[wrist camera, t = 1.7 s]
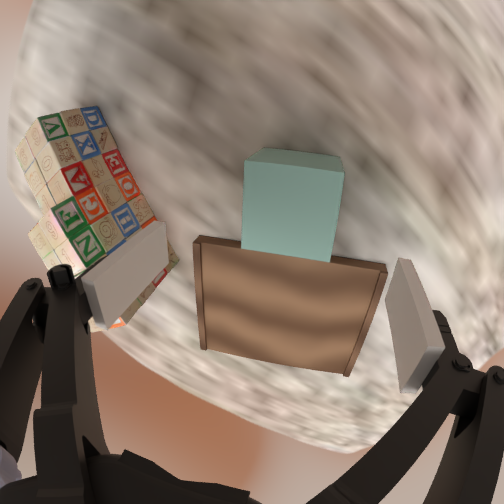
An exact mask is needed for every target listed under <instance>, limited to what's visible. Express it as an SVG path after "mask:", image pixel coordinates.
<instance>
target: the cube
mask: <svg viewBox="0 0 504 504" xmlns="http://www.w3.org/2000/svg"><path fill="white" fill-rule="evenodd" d="M344 175H345V172H344V168H343V165H342V162H341V158H340V157H337V156H331V155H324V154H317V153H309V152H301V151H293V150H284V149H274V148H262V149H261V150H259V151H258V152H256V153H255V154H253V155H252V156H251V157H249V158H248V159H246V160H245V161H244V185H243V211H242V238H241V249H247V250H254V251H260V252H266V253H273V254H279V255H286V256H292V257H298V258H305V259H311V260H318V261H324V262H330V258H331V253H332V248H333V243H334V237H335V232H336V226H337V220H338V214H339V208H340V202H341V196H342V189H343V182H344Z"/></svg>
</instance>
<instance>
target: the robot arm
mask: <svg viewBox="0 0 504 504" xmlns="http://www.w3.org/2000/svg"><path fill="white" fill-rule="evenodd" d="M168 264H169V259H168V248H167V236H166V223H165V222H161V221H153V222H152V223H150V224H149V225H148V226H146V227H145V228H144V229H142V230H141V231H140V232H138V233H137V234H136V235H134V236H133V237H132V238H130V239H129V240H128V241H126V242H125V243H124V244H123V245H121V246H120V247H119V248H117V249H116V250H115V251H114V252H112V253H111V254H110V255H107V256H105V257H102V258H100V259H99V260H98V261H97V262H95V263H94V264H93V265H92V266H90V267H89V268H88V269H87V270H85V271H84V272H83V273H82V274H80V275H79V276H78V277H77V278H76V279H75V278H74V274H73V271H72V267H71V266H70V265H69V264H59V265H56V266H54V267H52V268H51V269H50V270H49V271H48V272H47V276H48V279H49V282H50V285H51V287H44V286H43V283H42V280H41V279H39V278H31V279H29V280H27V281H26V282H24V283H23V284H22V285H21V287H20V288H19V290H18V292H17V293H16V295H15V297H14V298H13V300H12V301H11V303H10V305H9V306H8V308H7V310H6V312H5V313H4V315H3V317H2V319H1V320H0V504H261V503H260V502H258V501H256V500H254V499H252V498H250V497H249V495H250V491H246V490H241V489H237V488H233V487H229V486H225V485H221V484H217V483H205V482H204V483H203V482H192V481H184V480H180V479H178V478H176V477H175V476H173V475H172V474H170V473H168V472H167V471H166V470H164V469H163V468H161V467H160V466H158V465H156V464H155V463H154V462H153V461H150V460H148V459H146V458H143V457H141V456H139V455H137V454H134V453H132V452H130V451H128V450H124V452H123V453H122V455H118V454H110V452H109V450H108V448H107V446H106V443H105V439H104V435H103V430H102V425H101V419H100V413H99V407H98V402H97V395H96V387H95V379H94V370H93V361H92V349H91V335H90V325H89V322H88V321H89V320H90V319H91V318H92V317H93V319H94V322H95V325H96V326H97V327H100V328H102V329H105V330H108V329H109V328H110V327H111V326H112V325H113V324H114V323H115V321H116V320H117V319H118V318H119V317H120V316H121V315H122V314H123V312H124V311H125V310H126V309H127V308H128V307H129V306H130V305H131V304H132V302H133V301H134V300H135V299H136V298H137V297H138V296H139V295H140V294H141V293H142V291H143V290H144V289H145V288H146V287H147V286H148V285H149V284H150V283H151V282H152V281H153V280H154V278H155V277H156V276H157V275H158V274H159V273H160V272H161V271H162V270H163V269H164V268H165V267H166V266H167V265H168ZM385 303H386V308H387V313H388V318H389V323H390V329H391V334H392V340H393V346H394V352H395V358H396V365H397V372H398V380H399V388H400V393H415V394H416V393H417V391H418V390H419V388H420V387H421V385H422V387H423V391H422V392H421V393H420V395H419V396H418V397H417V398H416V400H415V401H414V402H413V403H412V405H411V406H410V407H409V408H408V409H407V410H406V412H405V413H404V414H403V415H402V416H401V417H400V419H399V420H398V421H397V422H396V423H395V424H394V425H393V426H392V428H391V429H390V430H389V431H388V432H387V433H386V434H385V435H384V436H383V437H382V438H381V439H380V440H379V441H378V442H377V443H376V444H375V445H374V446H373V447H372V448H371V449H370V450H369V451H368V452H367V454H365V455H364V456H363V457H362V458H361V459H360V460H359V461H358V462H357V463H356V464H355V465H354V466H352V467H351V468H350V469H349V470H348V471H347V472H346V473H345V474H343V475H342V476H341V477H340V478H339V479H338V480H336V481H335V482H334V483H333V484H331V485H329V486H328V487H327V488H326V489H324V490H323V491H322V492H320V493H319V494H318V495H316V496H315V497H314V498H313V499H311V500H310V501H308V502H307V503H306V504H378V503H379V502H380V501H381V500H382V499H383V498H384V497H385V496H386V495H387V494H388V493H389V492H390V491H391V490H392V489H393V487H394V486H395V485H396V484H397V483H398V482H399V481H400V479H401V478H402V477H403V476H404V475H405V474H406V472H407V471H408V470H409V469H410V467H411V466H412V465H413V464H414V463H415V461H416V460H417V459H418V457H419V456H420V455H421V453H422V452H423V451H424V450H425V448H426V447H427V445H428V444H429V443H430V441H431V440H432V439H433V437H434V436H435V434H436V433H437V431H438V430H439V428H440V427H441V425H442V424H443V422H444V421H445V419H446V417H447V416H448V414H449V413H451V414H454V415H456V416H455V420H454V423H453V427H452V430H451V434H450V437H449V440H448V443H447V446H446V449H445V451H444V454H443V457H442V460H441V462H440V465H439V468H438V471H437V473H436V475H435V478H434V480H433V482H432V485H431V487H430V489H429V492H428V494H427V496H426V498H425V500H424V502H423V504H491V501H492V498H493V494H494V491H495V487H496V484H497V480H498V476H499V472H500V467H501V462H502V458H503V452H504V369H503V368H502V367H499V366H492V367H490V368H489V370H488V371H487V372H486V373H484V372H481V371H478V370H475V369H473V366H472V363H471V361H470V360H469V359H468V358H467V357H466V356H465V355H463V354H461V353H459V351H458V348H457V345H456V343H455V340H454V337H453V335H452V334H451V329H450V327H449V324H448V322H447V319H446V318H445V316H444V315H443V314H442V313H441V312H440V311H437V310H432V308H431V306H430V303H429V301H428V298H427V296H426V293H425V291H424V288H423V286H422V284H421V281H420V279H419V277H418V274H417V272H416V270H415V268H414V265H413V263H412V261H411V260H409V259H403V258H398V261H397V264H396V267H395V271H394V274H393V277H392V280H391V283H390V286H389V289H388V292H387V295H386V298H385ZM32 319H33V324H32ZM41 371H42V383H41V408H40V409H36V410H35V411H34V415H33V430H34V449H35V461H36V471H37V475H36V476H32V477H29V478H25V479H21V478H22V475H21V472H20V471H19V470H18V469H17V462H18V460H19V457H20V454H21V451H22V446H23V443H24V438H25V433H26V428H27V424H28V419H29V415H30V411H31V406H32V403H33V399H34V395H35V392H36V388H37V384H38V381H39V378H40V374H41Z"/></svg>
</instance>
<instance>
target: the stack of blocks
mask: <svg viewBox="0 0 504 504" xmlns="http://www.w3.org/2000/svg"><path fill="white" fill-rule="evenodd" d="M15 153H16V155H17V158H18V160H19V163H20V165H21V167H22V170H23V172H24V175H25V177H26V180H27V182H28V184H29V186H30V188H31V191H32V193H33V195H34V196H35V198H36V201H37V203H38V205H39V207H40V209H41V211H42V213H43V214H44V216H43V217H42V218H41V219H40V220H39V221H38V223H37V225H36V226H35V227H34V228H33V229H32V230H31V231H30V232H29V233H28V236H29V238H30V240H31V241H32V243H33V245H34V247H35V249H36V250H37V252H38V254H39V255H40V257H41V258H42V260H43V262H44V263H45V265H46V267H47V269H48V270H50V269H51V268H52V267H54V266H56V265H59V264H69V265H70V266H71V267H72V271H73V274H74V278H75V279H76V278H77V277H78V276H79V275H80V274H82V273H83V272H84V271H85V270H87V269H88V268H89V267H90V266H92V265H93V264H94V263H95V262H97V261H98V260H99V259H100V258H102V257H105V256H107V255H110V254H111V253H112V252H114V251H115V250H116V249H117V248H119V247H120V246H121V245H123V244H124V243H125V242H126V241H128V240H129V239H130V238H132V237H133V236H134V235H136V234H137V233H138V232H140V231H141V230H142V229H144V228H145V227H146V226H148V225H149V224H150V223H152V222H153V221H157V219H156V218H155V216H154V214H153V212H152V210H151V208H150V207H149V205H148V203H147V201H146V199H145V198H144V196H143V194H142V193H141V192H140V190H139V188H138V186H137V185H136V183H135V181H134V179H133V177H132V175H131V173H130V172H129V171H128V168H127V166H126V164H125V162H124V160H123V158H122V157H121V155H120V153H119V151H118V149H117V145H116V143H115V141H114V139H113V137H112V135H111V133H110V131H109V129H108V127H107V125H106V123H105V121H104V119H103V117H102V115H101V112H100V111H99V108H98V107H97V106H93V107H86V108H80V109H72V110H66V111H61V112H59V113H54V114H50V115H46V116H41V117H38V118H37V119H36V120H35V122H34V123H33V124H32V126H31V127H30V128H29V130H28V131H27V133H26V134H25V136H24V138H23V139H22V141H21V142H20V144H19V145H18V147H17V148H16V150H15ZM167 248H168V259H169V264H168V265H167V266H166V267H165V268H164V269H163V270H162V271H161V272H160V273H159V274H158V275H157V276H156V277H155V278H154V280H153V281H152V282H151V283H150V284H149V285H148V286H147V287H146V288H145V289H144V290H143V291H142V293H141V294H140V295H139V296H138V297H137V298H136V299H135V300H134V301H133V302H132V304H131V305H130V306H129V307H128V308H127V309H126V310H125V311H124V312H123V314H122V315H121V316H120V317H119V318H118V319H117V320H116V321H115V323H114V324H113V325H112V326H111V327H110V328H109V329H111V328H115V327H120V326H124V325H126V324H127V323H128V322H129V321H130V319H131V318H132V317H133V315H134V314H135V313H136V312H137V310H138V309H139V308H140V307H141V306H142V305H143V304H144V303H145V301H146V300H147V299H148V298H149V296H150V295H151V294H152V293H153V292H154V290H155V288H156V287H157V286H158V285H159V284H160V282H161V281H162V280H163V279H164V277H165V276H166V275H167V273H169V272H170V271H171V269H172V268H173V267H174V266H175V265H176V264H177V262H178V261H179V259H178V257H177V256H176V254H175V252H174V250H173V249H172V247H171V245H170V244H169V242H168V240H167ZM88 322H89V325H90V331H91V332H96V331H102V330H105V329H102V328H100V327H97V326H96V325H95V322H94V319H93V317H92V318H91V319H90V320H89V321H88Z"/></svg>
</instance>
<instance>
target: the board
mask: <svg viewBox="0 0 504 504" xmlns="http://www.w3.org/2000/svg"><path fill="white" fill-rule="evenodd" d="M193 261H194V277H195V291H196V304H197V316H198V328H199V338H200V348H201V349H202V350H207V349H211V350H215V351H219V352H223V353H228V354H232V355H237V356H241V357H246V358H250V359H255V360H260V361H265V362H271V363H276V364H281V365H287V366H293V367H299V368H305V369H311V370H318V371H325V372H332V373H340V374H343V376H345V377H349V376H350V373H351V371H352V369H353V367H354V364H355V362H356V360H357V357H358V355H359V353H360V350H361V348H362V345H363V343H364V340H365V338H366V335H367V333H368V330H369V327H370V325H371V322H372V320H373V317H374V314H375V311H376V309H377V306H378V303H379V300H380V297H381V294H382V291H383V288H384V285H385V282H386V279H387V276H388V272H387V268H386V265H385V264H380V263H374V262H368V261H362V260H355V259H349V258H343V257H337V256H331V258H330V262H324V261H318V260H311V259H305V258H298V257H292V256H286V255H279V254H273V253H266V252H260V251H254V250H247V249H241V242H240V241H233V240H227V239H220V238H214V237H207V236H200V235H199V236H198V238H197V239H196V240H195V241H194V242H193Z"/></svg>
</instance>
